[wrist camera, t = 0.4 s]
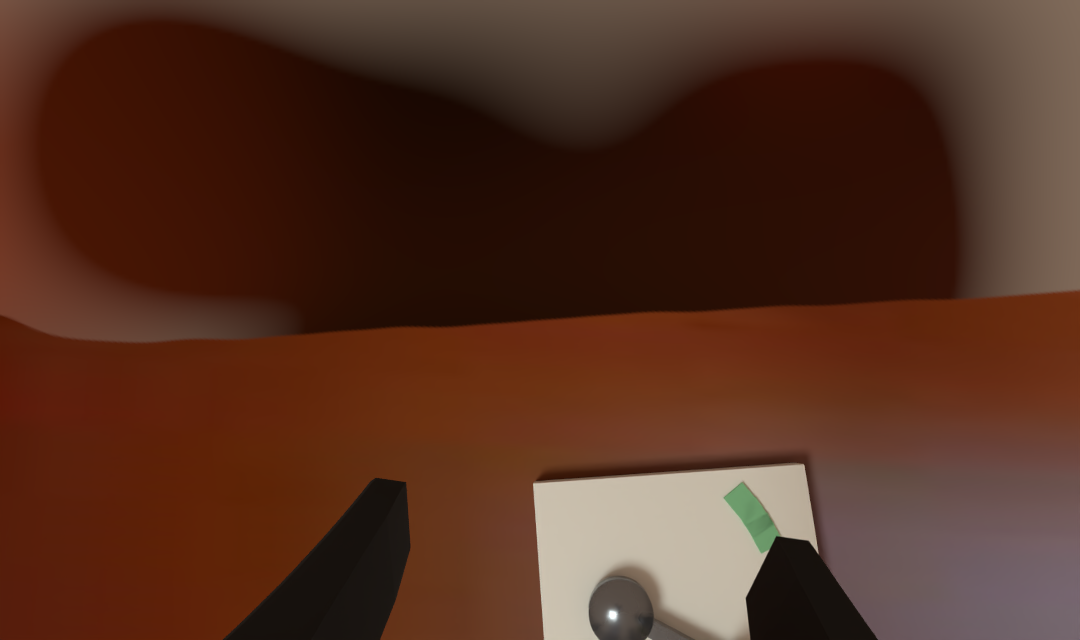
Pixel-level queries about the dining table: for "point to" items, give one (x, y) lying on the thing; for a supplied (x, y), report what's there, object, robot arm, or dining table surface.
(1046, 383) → the dining table surface
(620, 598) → the dark grey elongated piece
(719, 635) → the dial board
